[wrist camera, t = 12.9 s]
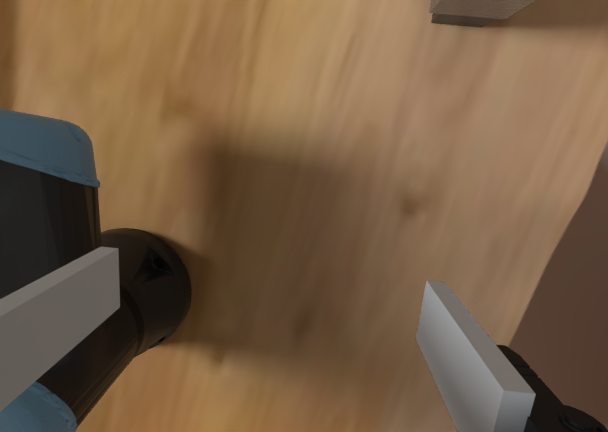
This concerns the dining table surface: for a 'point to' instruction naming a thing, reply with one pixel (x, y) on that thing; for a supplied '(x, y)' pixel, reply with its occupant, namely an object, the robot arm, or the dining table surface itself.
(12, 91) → the dining table surface
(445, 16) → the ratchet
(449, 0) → the grey stone cube
